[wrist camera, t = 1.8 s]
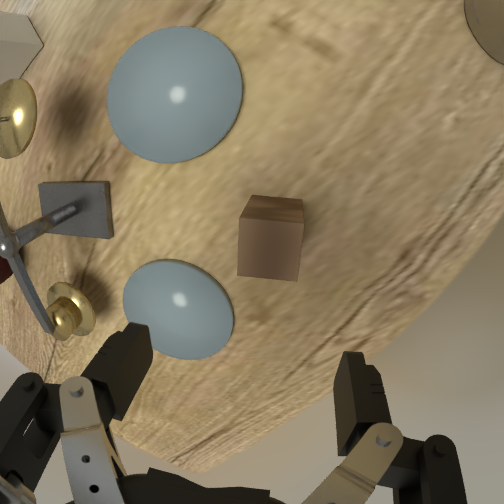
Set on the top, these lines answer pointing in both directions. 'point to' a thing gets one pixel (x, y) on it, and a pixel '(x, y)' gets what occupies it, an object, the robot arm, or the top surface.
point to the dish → (179, 308)
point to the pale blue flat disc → (174, 94)
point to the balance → (50, 218)
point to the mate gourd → (4, 269)
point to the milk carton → (16, 45)
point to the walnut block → (270, 238)
